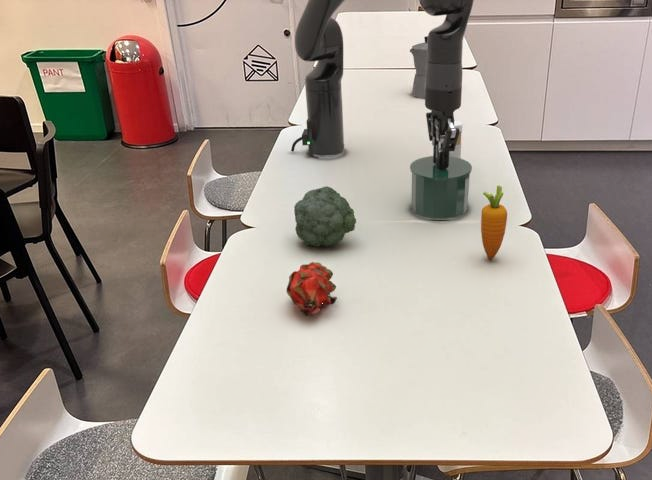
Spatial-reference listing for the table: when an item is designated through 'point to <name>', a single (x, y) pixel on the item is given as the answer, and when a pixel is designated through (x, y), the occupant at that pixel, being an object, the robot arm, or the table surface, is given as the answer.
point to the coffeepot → (419, 68)
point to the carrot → (493, 223)
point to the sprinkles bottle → (458, 145)
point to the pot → (440, 197)
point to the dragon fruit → (311, 287)
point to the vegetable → (323, 217)
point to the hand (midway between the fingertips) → (440, 165)
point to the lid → (433, 172)
